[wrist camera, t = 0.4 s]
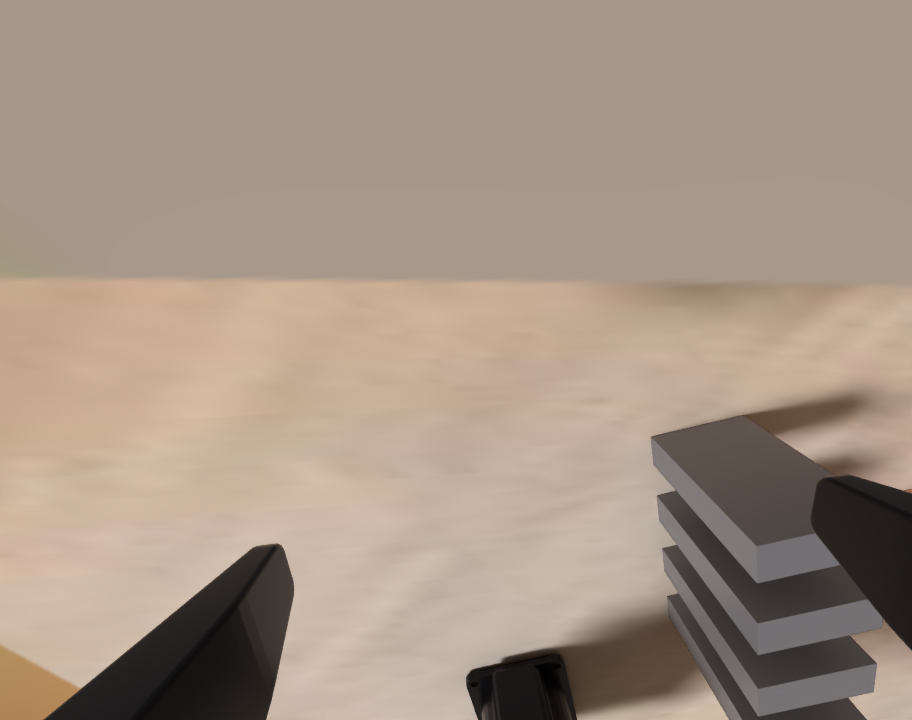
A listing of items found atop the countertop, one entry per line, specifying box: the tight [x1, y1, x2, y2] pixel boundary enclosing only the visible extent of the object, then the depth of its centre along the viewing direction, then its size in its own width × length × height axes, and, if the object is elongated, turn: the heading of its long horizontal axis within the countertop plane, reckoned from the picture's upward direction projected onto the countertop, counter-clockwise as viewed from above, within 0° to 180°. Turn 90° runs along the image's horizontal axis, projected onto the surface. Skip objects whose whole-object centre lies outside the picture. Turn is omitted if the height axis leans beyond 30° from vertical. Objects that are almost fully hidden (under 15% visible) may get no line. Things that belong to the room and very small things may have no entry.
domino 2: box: [667, 594, 867, 720], centre depth 23 cm, size 2×5×8 cm, turn 104°
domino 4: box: [657, 491, 883, 655], centre depth 21 cm, size 2×5×8 cm, turn 104°
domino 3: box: [662, 545, 877, 717], centre depth 22 cm, size 2×5×8 cm, turn 104°
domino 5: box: [651, 415, 840, 583], centre depth 19 cm, size 2×5×8 cm, turn 104°
